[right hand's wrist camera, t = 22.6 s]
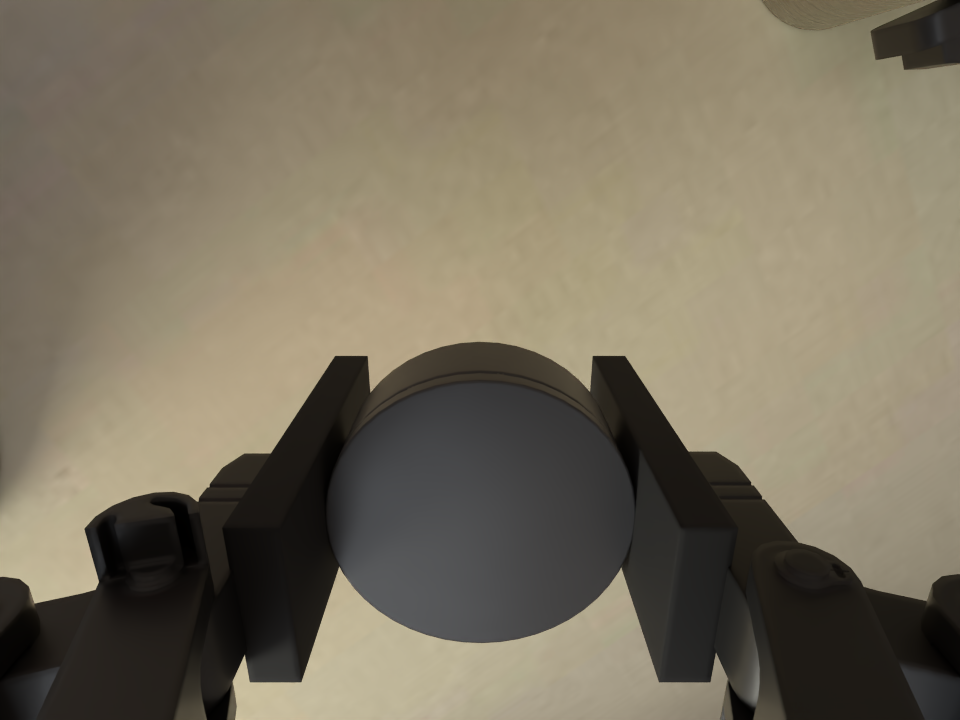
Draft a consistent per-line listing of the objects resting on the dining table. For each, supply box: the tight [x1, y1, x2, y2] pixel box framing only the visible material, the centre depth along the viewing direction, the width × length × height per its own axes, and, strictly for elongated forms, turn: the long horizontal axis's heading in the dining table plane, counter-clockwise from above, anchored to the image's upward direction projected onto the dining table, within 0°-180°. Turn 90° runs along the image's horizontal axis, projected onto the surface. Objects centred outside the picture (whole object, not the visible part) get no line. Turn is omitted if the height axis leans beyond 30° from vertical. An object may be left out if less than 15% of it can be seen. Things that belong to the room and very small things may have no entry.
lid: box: [325, 342, 636, 643], centre depth 11 cm, size 5×5×2 cm
